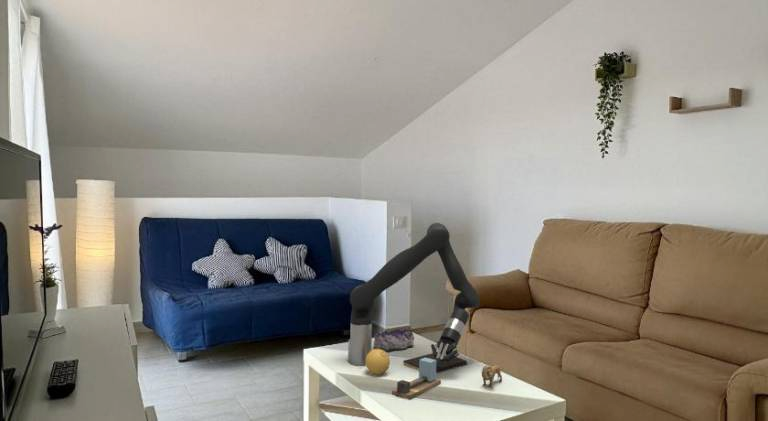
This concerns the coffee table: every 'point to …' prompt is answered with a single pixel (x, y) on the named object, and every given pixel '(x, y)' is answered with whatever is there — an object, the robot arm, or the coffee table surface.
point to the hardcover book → (446, 365)
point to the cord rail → (414, 387)
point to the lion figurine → (490, 374)
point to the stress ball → (377, 361)
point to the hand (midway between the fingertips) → (436, 368)
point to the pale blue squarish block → (427, 369)
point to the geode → (394, 340)
